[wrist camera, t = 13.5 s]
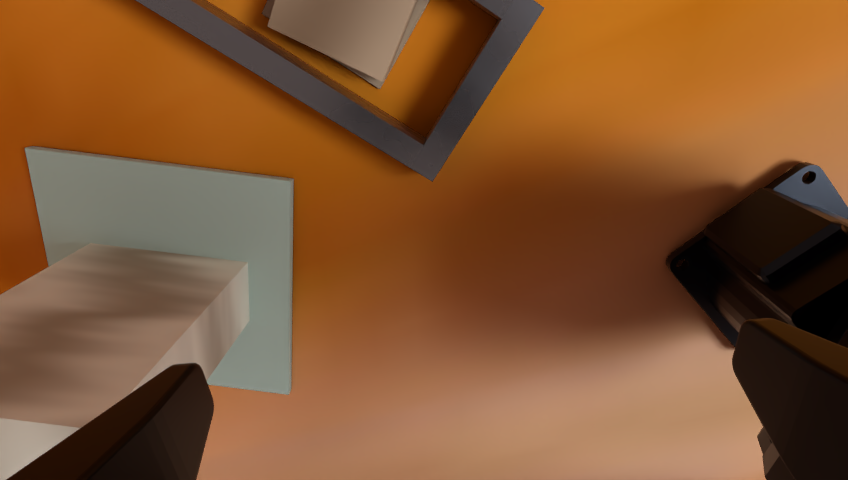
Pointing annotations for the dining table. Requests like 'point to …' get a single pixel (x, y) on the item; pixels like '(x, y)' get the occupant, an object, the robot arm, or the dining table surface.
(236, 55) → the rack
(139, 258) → the beige rectangular block
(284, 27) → the upper offcut
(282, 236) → the mat
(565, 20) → the dining table surface
